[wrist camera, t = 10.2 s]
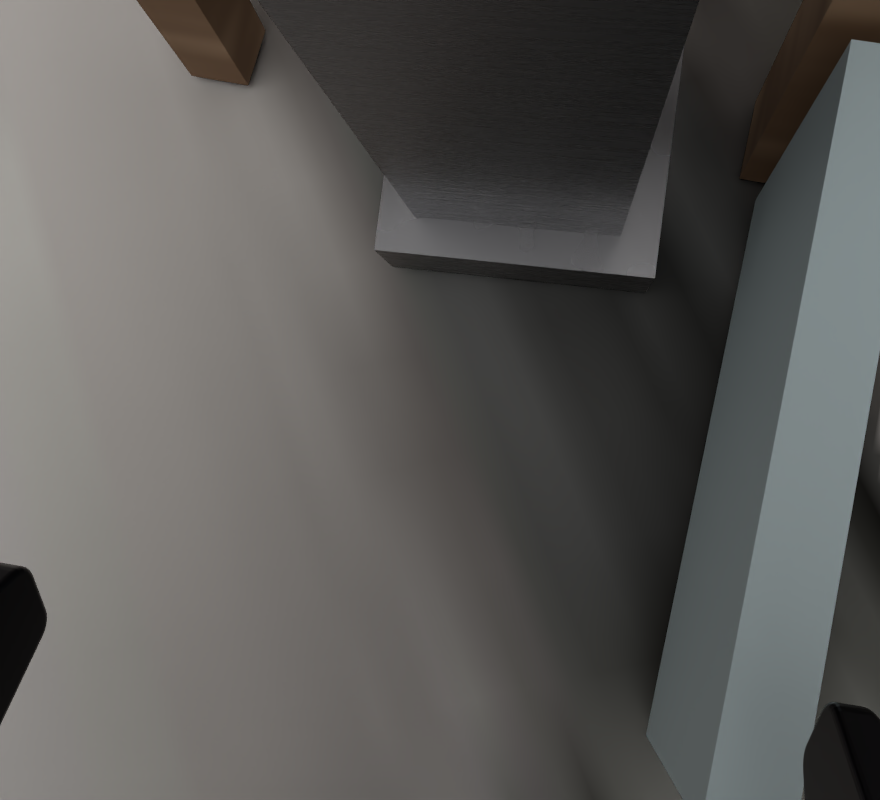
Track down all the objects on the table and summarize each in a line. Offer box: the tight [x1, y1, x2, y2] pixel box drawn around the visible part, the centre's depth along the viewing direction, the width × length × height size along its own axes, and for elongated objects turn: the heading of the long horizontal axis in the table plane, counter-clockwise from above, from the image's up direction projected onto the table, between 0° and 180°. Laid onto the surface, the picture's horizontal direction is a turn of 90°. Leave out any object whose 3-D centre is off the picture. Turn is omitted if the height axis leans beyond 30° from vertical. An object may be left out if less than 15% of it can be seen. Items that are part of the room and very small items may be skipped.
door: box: [646, 39, 880, 800], centre depth 15 cm, size 12×1×6 cm, turn 166°
